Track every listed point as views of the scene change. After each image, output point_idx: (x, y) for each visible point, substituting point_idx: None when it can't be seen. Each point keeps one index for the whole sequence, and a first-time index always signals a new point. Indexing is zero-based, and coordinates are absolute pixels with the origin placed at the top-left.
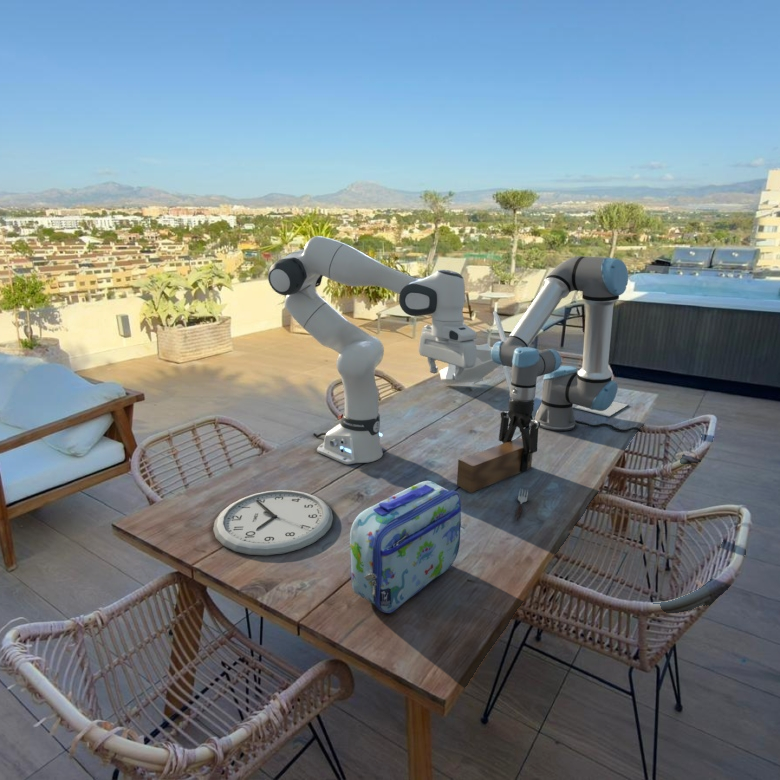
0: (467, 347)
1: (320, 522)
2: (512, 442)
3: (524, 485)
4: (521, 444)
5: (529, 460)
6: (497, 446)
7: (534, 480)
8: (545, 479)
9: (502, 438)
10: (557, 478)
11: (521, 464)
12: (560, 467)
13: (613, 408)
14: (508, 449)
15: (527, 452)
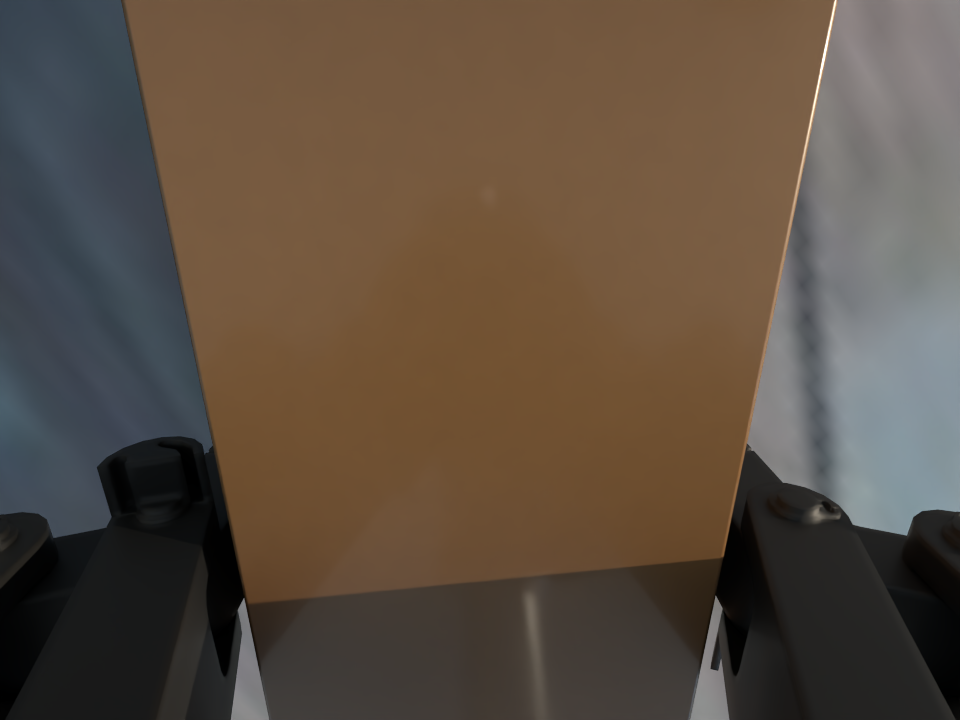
0: None
1: None
2: (614, 607)
3: (75, 86)
4: (398, 668)
5: None
6: (776, 2)
7: (137, 306)
8: (108, 418)
9: (943, 591)
10: (78, 522)
11: None
12: (249, 694)
13: None
14: (342, 130)
15: (124, 515)
